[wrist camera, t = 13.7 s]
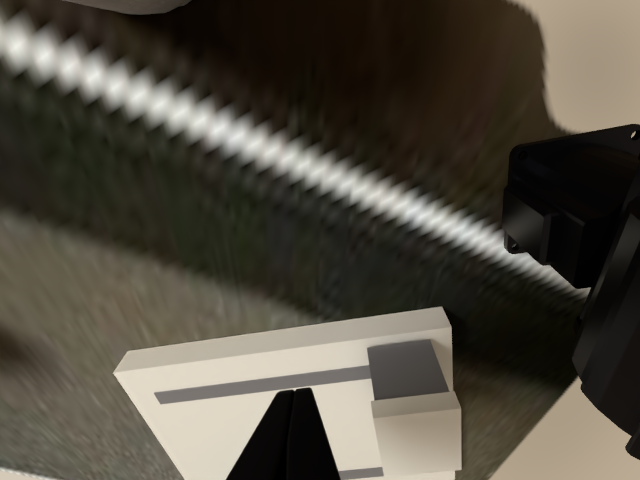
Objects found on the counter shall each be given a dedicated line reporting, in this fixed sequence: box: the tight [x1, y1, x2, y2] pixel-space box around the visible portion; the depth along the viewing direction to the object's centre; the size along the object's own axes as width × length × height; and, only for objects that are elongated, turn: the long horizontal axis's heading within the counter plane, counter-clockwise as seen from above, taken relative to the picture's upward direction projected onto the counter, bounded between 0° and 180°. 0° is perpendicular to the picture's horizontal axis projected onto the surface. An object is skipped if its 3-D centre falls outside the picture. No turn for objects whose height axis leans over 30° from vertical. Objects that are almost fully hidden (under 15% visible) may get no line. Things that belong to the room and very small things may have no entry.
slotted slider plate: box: [113, 307, 455, 480], centre depth 28 cm, size 23×18×2 cm
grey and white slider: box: [367, 339, 462, 477], centre depth 21 cm, size 4×5×5 cm
